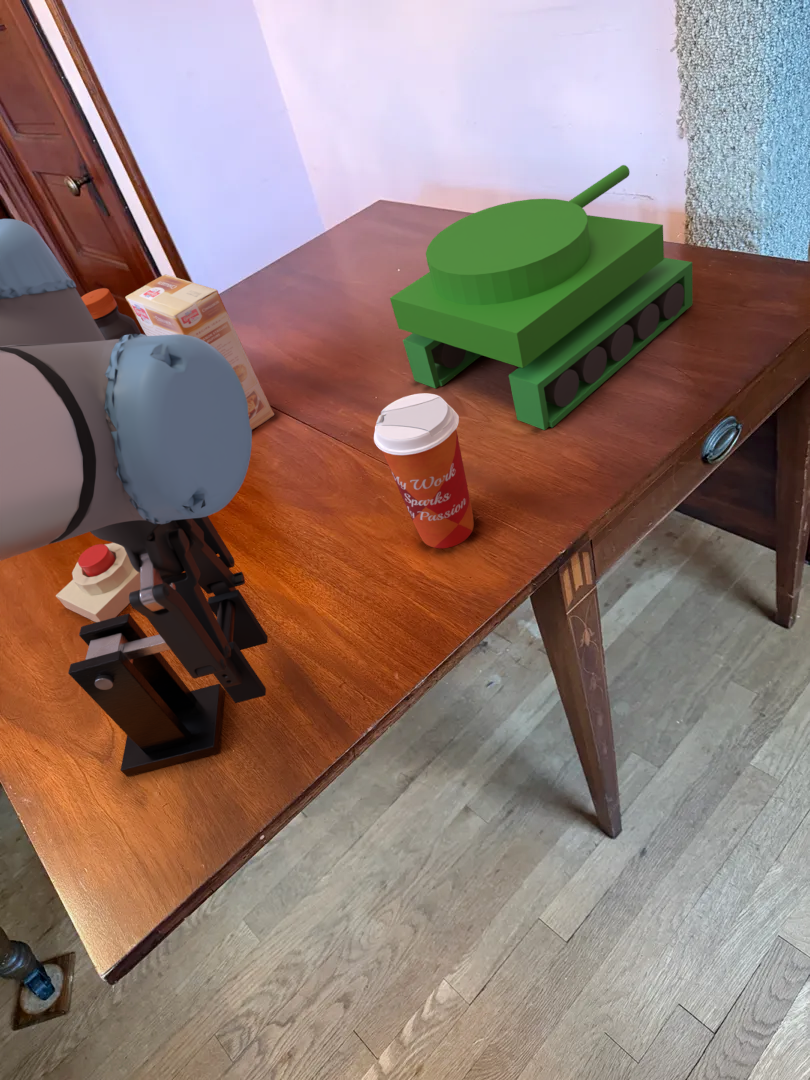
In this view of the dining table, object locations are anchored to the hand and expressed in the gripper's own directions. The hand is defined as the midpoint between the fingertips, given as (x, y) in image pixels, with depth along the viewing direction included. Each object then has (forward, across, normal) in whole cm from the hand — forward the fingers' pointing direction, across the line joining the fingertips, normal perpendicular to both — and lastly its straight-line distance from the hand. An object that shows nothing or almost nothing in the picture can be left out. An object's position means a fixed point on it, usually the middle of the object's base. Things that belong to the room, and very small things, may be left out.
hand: (251, 668), depth 65 cm
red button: (+2, +23, +20) cm, 31 cm away
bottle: (+6, +61, +20) cm, 64 cm away
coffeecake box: (+6, +55, +8) cm, 56 cm away
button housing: (+6, +23, +20) cm, 32 cm away
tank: (+6, +49, -40) cm, 64 cm away
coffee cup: (+6, +17, -19) cm, 27 cm away
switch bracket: (+6, 0, +10) cm, 12 cm away
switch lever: (-5, 0, +5) cm, 7 cm away
